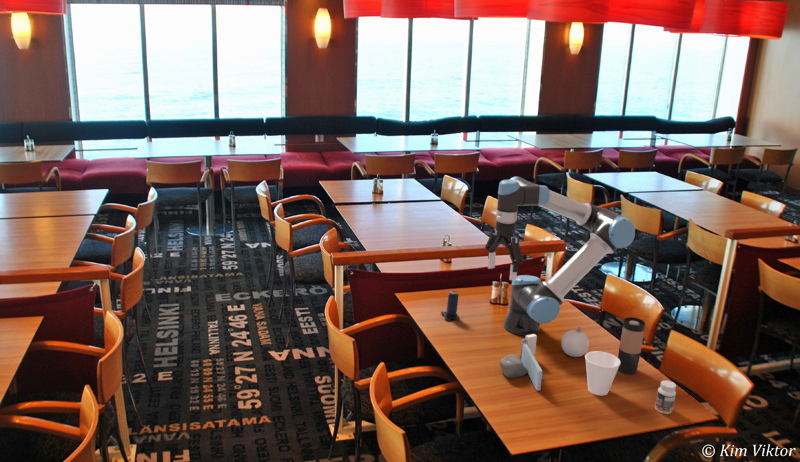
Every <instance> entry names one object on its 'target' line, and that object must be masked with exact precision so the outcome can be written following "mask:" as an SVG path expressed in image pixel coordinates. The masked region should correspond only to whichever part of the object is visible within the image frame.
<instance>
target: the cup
mask: <svg viewBox="0 0 800 462" xmlns="http://www.w3.org/2000/svg"><path fill="white" fill-rule="evenodd" d="M584 358H585V359H584V360H585V366H586V367H585V368H586V379H587V382H586V383H587V389H588V392H589V393H590V394H593V395H595V396H602V397H603V396H606V395H608V394H609V391H610V389H611V387H612V384H613V381H614V379H615V377H616V375H617V373H618V368H619V365H620V363H621V362H620V360H619V359H618V356H616V355H614V354H612V353H610V352H607V351H602V350H601V351H596V350H593V351H589V352H586V353H585V354H584Z"/></svg>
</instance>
